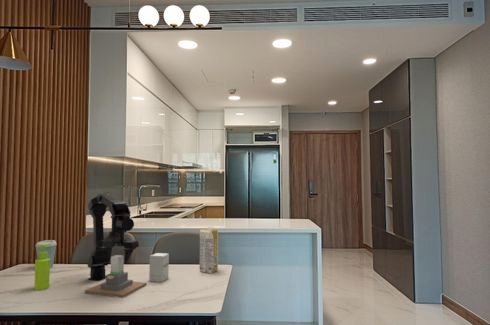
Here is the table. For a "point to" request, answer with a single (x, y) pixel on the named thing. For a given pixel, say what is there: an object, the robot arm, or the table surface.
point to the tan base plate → (116, 286)
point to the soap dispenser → (42, 269)
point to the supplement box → (159, 267)
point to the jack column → (117, 265)
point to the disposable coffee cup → (48, 250)
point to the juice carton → (208, 250)
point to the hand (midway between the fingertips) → (117, 262)
